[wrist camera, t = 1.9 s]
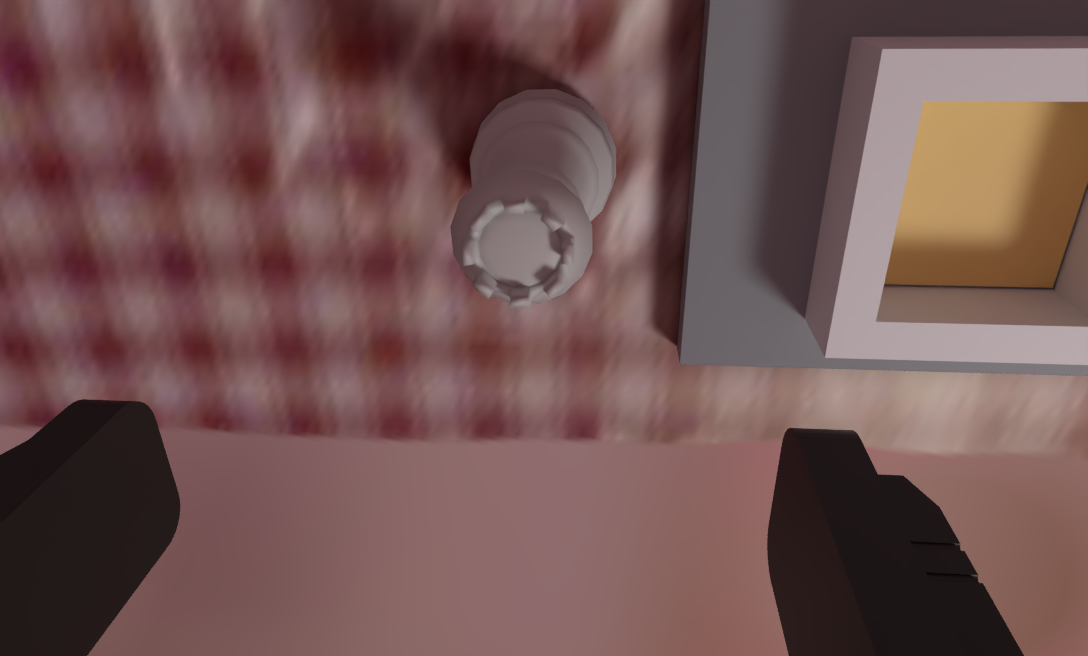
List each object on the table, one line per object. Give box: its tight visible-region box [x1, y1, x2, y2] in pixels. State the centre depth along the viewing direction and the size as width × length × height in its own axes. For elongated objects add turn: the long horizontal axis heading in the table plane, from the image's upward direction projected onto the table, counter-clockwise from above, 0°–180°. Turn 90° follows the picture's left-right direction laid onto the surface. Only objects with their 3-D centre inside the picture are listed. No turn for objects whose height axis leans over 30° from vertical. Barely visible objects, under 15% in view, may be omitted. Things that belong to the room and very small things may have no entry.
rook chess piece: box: [451, 89, 616, 307], centre depth 20 cm, size 4×4×8 cm
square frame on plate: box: [677, 0, 1088, 376], centre depth 21 cm, size 16×12×4 cm
